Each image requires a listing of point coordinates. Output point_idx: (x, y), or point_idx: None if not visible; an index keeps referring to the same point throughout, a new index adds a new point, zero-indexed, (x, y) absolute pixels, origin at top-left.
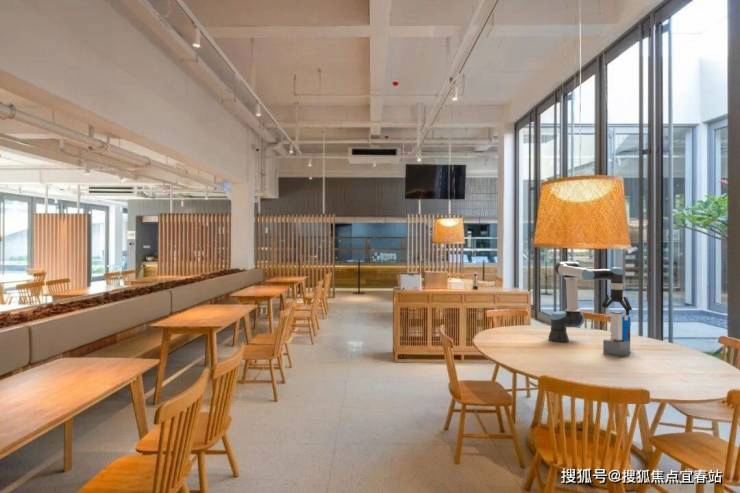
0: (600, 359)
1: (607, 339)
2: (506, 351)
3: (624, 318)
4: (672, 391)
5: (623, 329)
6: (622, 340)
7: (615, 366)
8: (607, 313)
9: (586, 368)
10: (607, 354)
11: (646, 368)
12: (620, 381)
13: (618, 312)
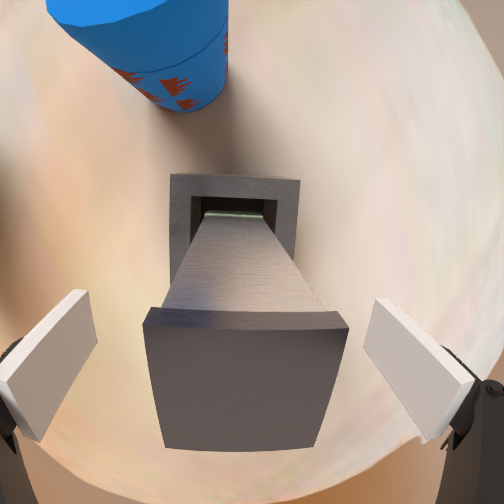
0: None
1: (178, 262)
2: (63, 454)
3: (371, 359)
4: None
5: (197, 60)
6: (255, 198)
7: None
8: (72, 351)
9: (270, 456)
10: None
11: None
12: (364, 454)
13: (294, 415)
